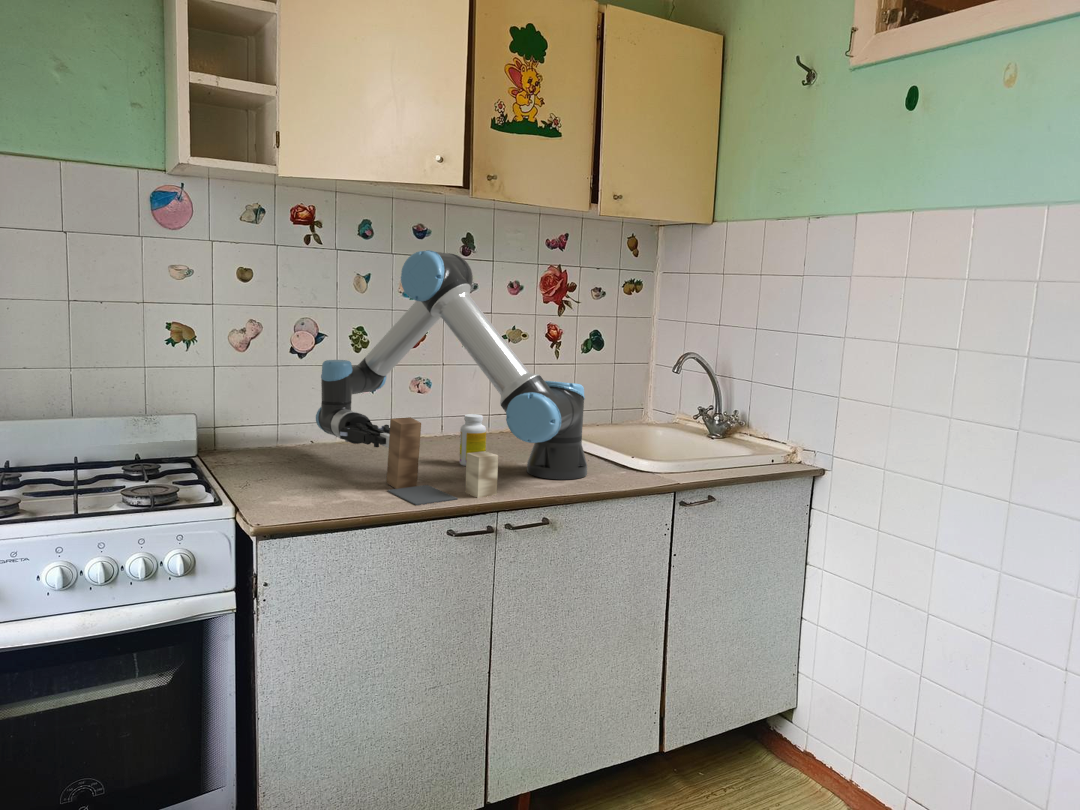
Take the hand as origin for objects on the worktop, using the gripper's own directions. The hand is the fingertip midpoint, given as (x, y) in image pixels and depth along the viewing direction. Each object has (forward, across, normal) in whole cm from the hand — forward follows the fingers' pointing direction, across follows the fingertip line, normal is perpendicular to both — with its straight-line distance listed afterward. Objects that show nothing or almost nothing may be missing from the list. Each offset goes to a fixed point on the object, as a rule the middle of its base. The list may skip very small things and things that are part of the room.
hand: (395, 443), depth 178 cm
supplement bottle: (-9, -27, -10) cm, 30 cm away
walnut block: (+2, -1, -9) cm, 9 cm away
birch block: (+16, -13, -10) cm, 23 cm away
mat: (+12, -1, -9) cm, 15 cm away
